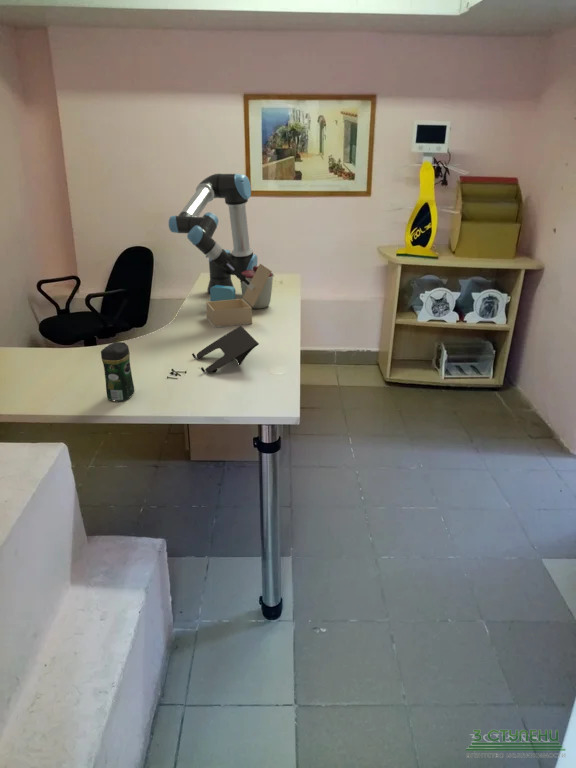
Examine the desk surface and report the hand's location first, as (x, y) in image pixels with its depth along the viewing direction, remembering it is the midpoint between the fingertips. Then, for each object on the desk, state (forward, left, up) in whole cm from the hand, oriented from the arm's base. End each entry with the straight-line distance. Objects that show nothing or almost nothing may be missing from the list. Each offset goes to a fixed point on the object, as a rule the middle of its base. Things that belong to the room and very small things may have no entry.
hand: (252, 288), depth 268 cm
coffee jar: (+71, -68, -15) cm, 100 cm away
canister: (-20, +8, -15) cm, 26 cm away
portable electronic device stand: (+52, -28, -15) cm, 61 cm away
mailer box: (0, -12, -15) cm, 19 cm away
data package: (-19, -10, -15) cm, 26 cm away
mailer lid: (0, +2, +2) cm, 2 cm away
